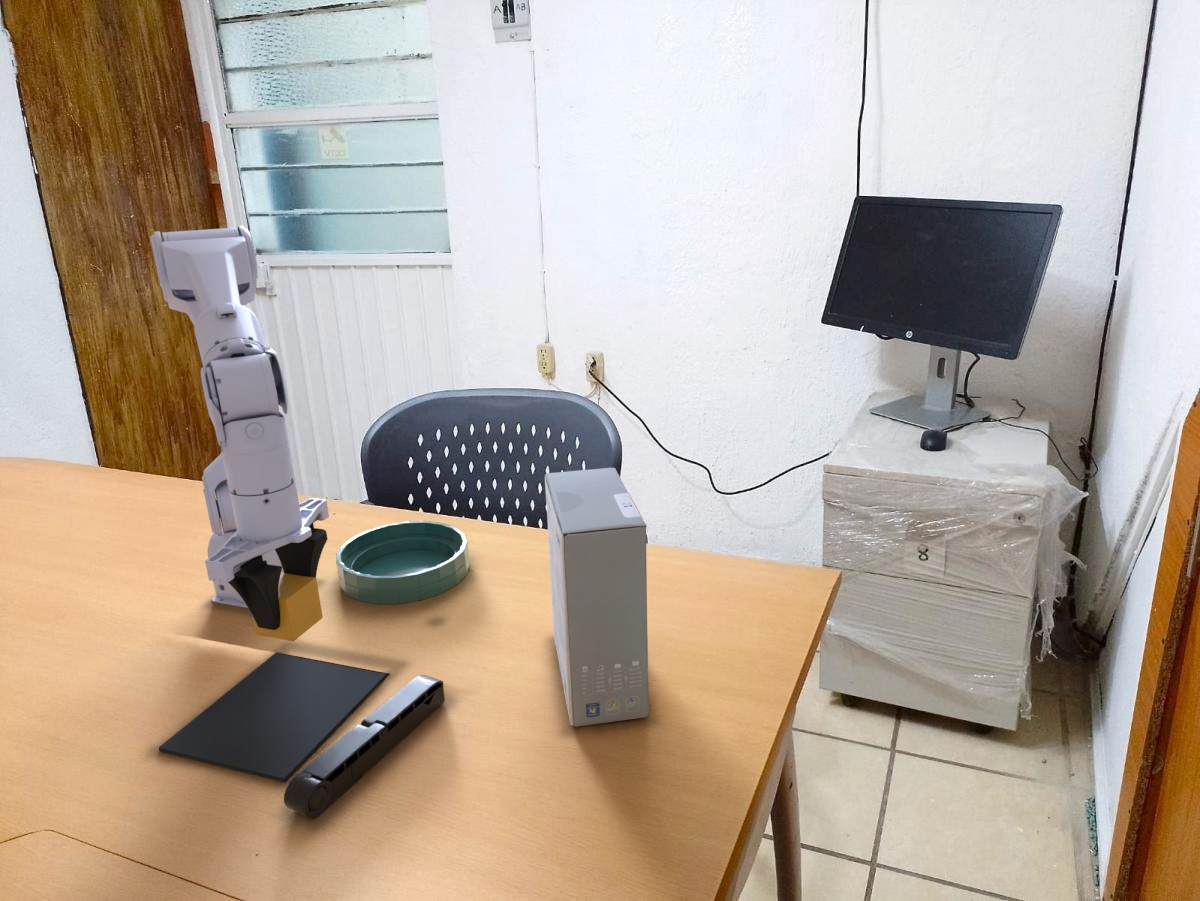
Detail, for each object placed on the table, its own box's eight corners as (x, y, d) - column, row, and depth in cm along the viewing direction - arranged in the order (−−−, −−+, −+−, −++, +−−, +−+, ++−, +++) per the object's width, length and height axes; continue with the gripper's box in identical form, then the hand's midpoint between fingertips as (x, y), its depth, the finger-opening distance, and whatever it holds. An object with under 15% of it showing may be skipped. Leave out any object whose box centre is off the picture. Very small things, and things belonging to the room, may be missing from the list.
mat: (158, 751, 76) (158, 747, 76) (288, 645, 92) (287, 642, 92) (284, 782, 71) (284, 778, 71) (397, 665, 87) (397, 662, 87)
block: (255, 634, 80) (247, 593, 78) (285, 611, 84) (278, 571, 82) (293, 641, 79) (286, 599, 77) (323, 617, 83) (316, 577, 81)
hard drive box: (651, 719, 78) (648, 526, 71) (570, 731, 76) (559, 535, 70) (620, 632, 92) (615, 464, 85) (552, 640, 91) (541, 471, 84)
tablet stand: (309, 826, 67) (303, 796, 66) (286, 815, 68) (280, 786, 67) (447, 701, 81) (444, 675, 80) (427, 694, 82) (423, 669, 81)
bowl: (313, 597, 102) (308, 568, 101) (386, 541, 116) (382, 515, 115) (429, 616, 97) (425, 585, 95) (490, 555, 111) (488, 528, 110)
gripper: (242, 520, 69) (269, 661, 73) (345, 461, 81) (364, 583, 86) (175, 511, 71) (206, 649, 75) (286, 455, 84) (307, 575, 88)
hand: (286, 613), depth 81 cm, fingers closed on block, 4 cm apart
